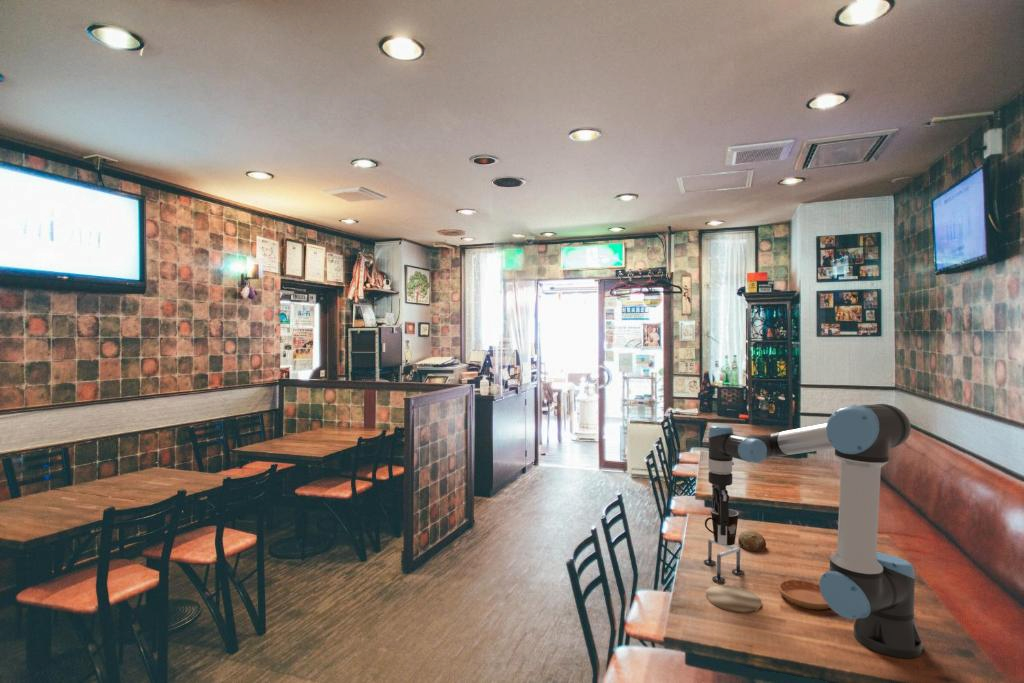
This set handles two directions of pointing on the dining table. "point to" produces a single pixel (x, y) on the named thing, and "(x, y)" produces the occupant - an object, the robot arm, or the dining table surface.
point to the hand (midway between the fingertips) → (719, 540)
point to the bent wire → (711, 562)
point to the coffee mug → (730, 528)
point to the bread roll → (752, 541)
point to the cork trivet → (733, 598)
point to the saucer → (803, 594)
